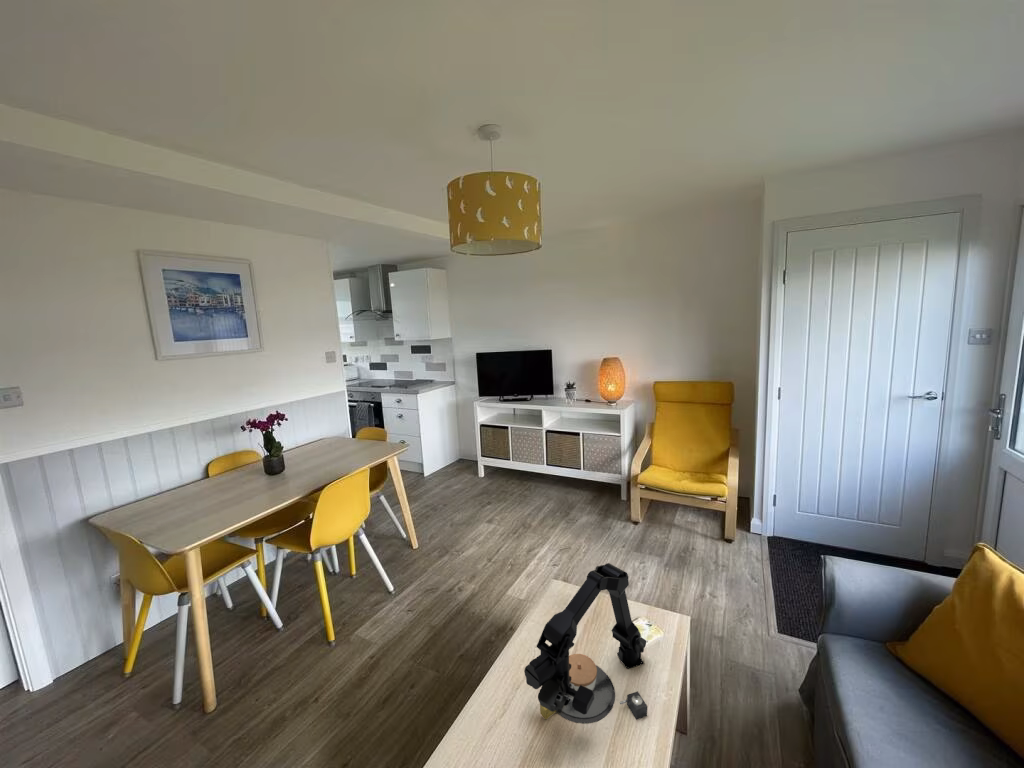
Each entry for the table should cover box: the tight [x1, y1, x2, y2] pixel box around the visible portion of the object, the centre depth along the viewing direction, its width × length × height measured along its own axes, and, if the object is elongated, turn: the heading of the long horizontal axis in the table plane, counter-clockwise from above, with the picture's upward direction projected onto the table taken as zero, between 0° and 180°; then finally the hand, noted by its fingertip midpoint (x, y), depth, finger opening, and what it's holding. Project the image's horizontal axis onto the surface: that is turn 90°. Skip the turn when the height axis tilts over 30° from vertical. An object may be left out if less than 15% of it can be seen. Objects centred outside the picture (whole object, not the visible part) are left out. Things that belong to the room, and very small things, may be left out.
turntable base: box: [555, 674, 616, 724], centre depth 133 cm, size 22×22×1 cm
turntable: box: [539, 664, 612, 721], centre depth 131 cm, size 25×20×3 cm
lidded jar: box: [569, 653, 597, 691], centre depth 132 cm, size 11×11×9 cm
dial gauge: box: [619, 691, 648, 721], centre depth 125 cm, size 6×5×4 cm
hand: (559, 711), depth 121 cm, fingers closed
